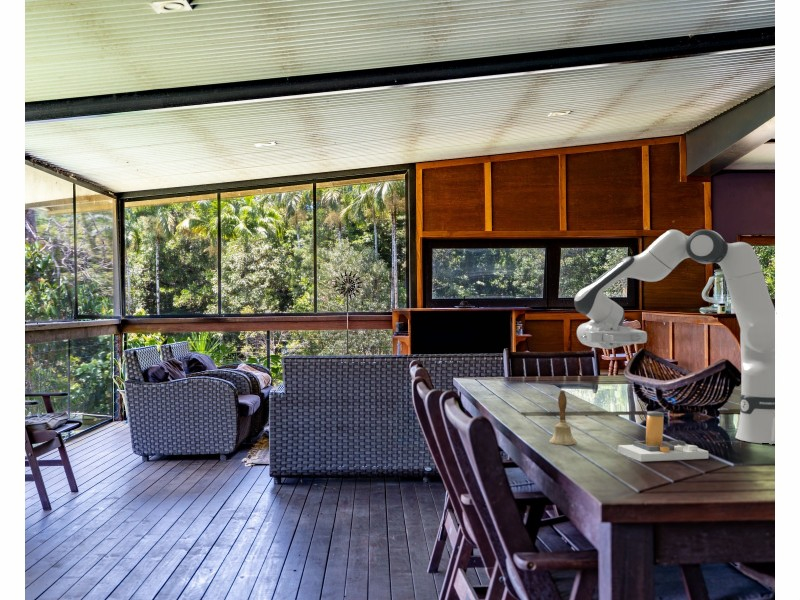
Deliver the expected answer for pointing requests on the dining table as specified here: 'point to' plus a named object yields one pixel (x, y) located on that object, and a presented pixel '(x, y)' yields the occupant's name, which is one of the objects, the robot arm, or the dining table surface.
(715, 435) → the dining table surface
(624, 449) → the board
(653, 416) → the orange capped cylinder
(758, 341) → the robot arm
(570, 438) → the hand bell
